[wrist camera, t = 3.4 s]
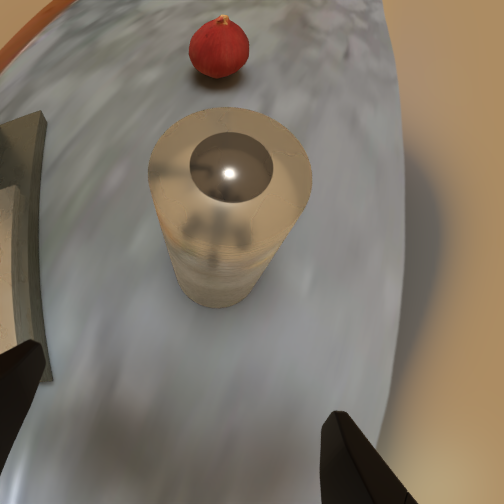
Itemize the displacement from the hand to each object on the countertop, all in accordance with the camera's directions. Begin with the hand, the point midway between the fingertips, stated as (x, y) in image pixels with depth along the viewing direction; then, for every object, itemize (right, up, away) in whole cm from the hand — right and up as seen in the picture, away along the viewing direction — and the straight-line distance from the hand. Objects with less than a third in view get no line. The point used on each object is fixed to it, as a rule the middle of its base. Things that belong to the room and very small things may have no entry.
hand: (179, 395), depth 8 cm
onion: (-2, +22, +22) cm, 31 cm away
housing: (-1, +3, +15) cm, 16 cm away
